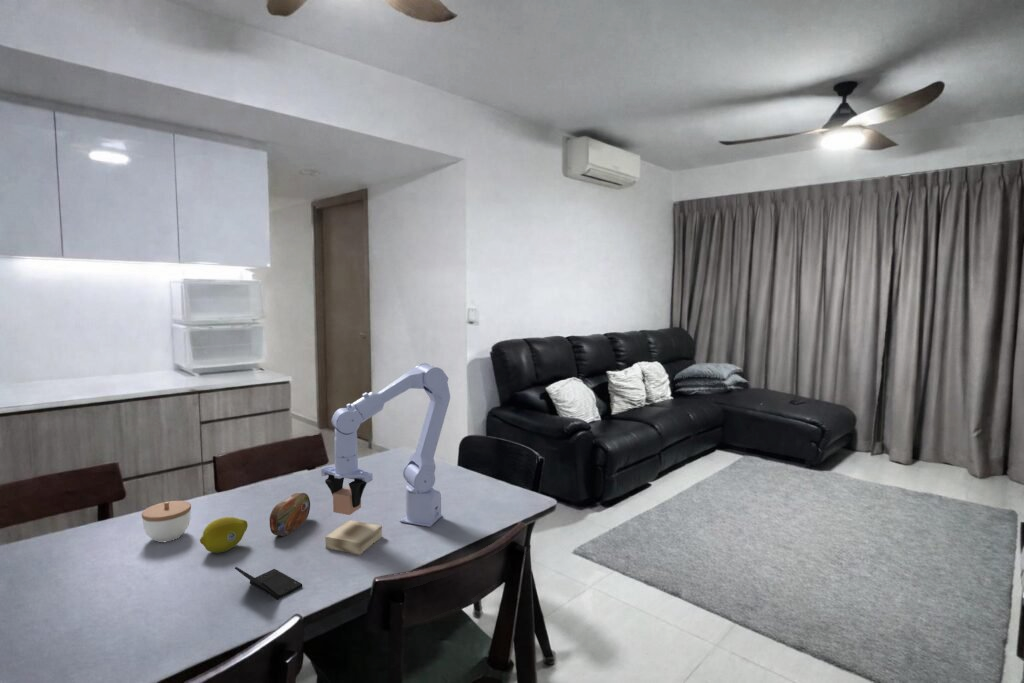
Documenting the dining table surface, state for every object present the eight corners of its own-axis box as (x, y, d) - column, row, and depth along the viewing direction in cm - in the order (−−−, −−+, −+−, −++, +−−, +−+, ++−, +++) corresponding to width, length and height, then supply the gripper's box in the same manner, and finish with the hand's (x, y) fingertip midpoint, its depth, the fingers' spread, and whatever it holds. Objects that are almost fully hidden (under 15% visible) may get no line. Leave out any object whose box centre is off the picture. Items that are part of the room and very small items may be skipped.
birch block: (381, 536, 139) (381, 525, 139) (359, 554, 130) (359, 543, 130) (349, 530, 143) (349, 520, 142) (325, 547, 133) (325, 536, 133)
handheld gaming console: (309, 575, 118) (282, 553, 112) (291, 608, 113) (262, 587, 107) (273, 570, 123) (245, 548, 117) (255, 601, 118) (224, 581, 112)
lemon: (203, 562, 125) (201, 530, 125) (197, 550, 131) (195, 519, 130) (252, 548, 132) (251, 518, 132) (244, 537, 138) (243, 507, 137)
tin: (278, 541, 136) (277, 510, 135) (267, 540, 137) (266, 509, 136) (311, 517, 151) (310, 488, 150) (301, 515, 151) (300, 487, 151)
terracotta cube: (361, 507, 141) (360, 489, 140) (349, 515, 136) (349, 496, 136) (345, 504, 143) (344, 486, 142) (333, 512, 138) (332, 493, 137)
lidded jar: (201, 532, 140) (199, 498, 139) (160, 550, 131) (158, 514, 130) (175, 524, 145) (173, 491, 144) (134, 541, 135) (131, 506, 134)
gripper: (312, 455, 136) (314, 506, 138) (360, 462, 132) (361, 514, 133) (330, 448, 143) (331, 496, 145) (376, 454, 138) (377, 504, 140)
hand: (347, 504), depth 139 cm, fingers closed on terracotta cube, 5 cm apart
